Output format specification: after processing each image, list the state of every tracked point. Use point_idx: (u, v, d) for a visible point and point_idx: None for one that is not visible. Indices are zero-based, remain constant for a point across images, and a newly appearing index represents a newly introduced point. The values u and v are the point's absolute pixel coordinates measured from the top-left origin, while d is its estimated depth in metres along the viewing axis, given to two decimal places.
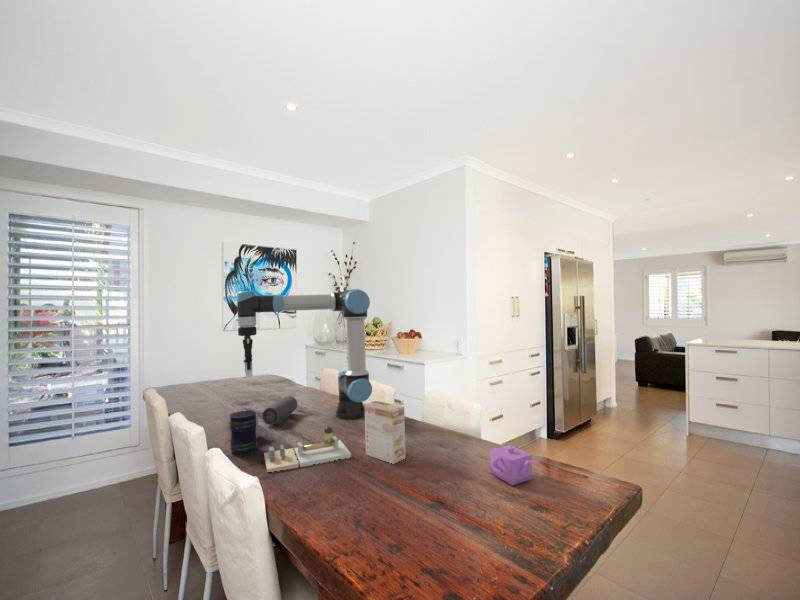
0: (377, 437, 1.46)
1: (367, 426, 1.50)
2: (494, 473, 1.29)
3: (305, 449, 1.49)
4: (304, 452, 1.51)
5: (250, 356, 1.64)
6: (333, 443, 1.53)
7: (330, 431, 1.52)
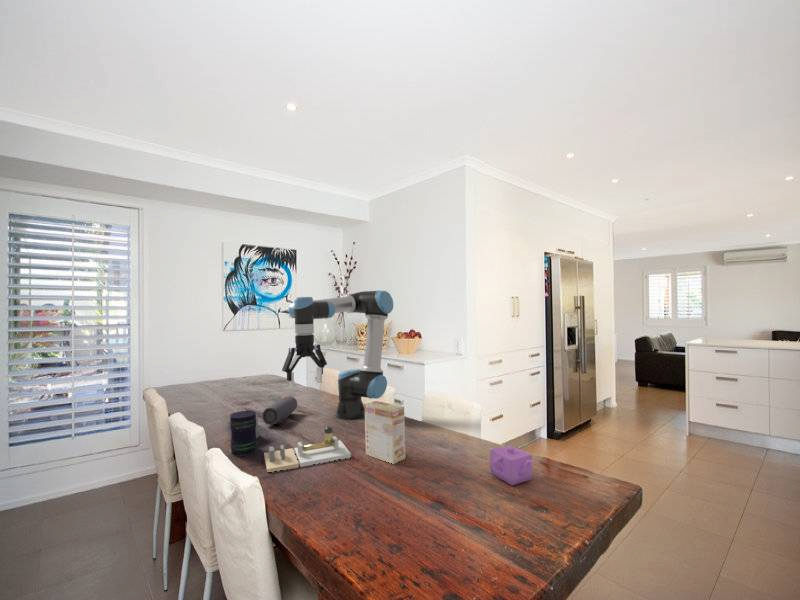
0: (377, 437, 1.46)
1: (367, 426, 1.50)
2: (494, 473, 1.29)
3: (305, 449, 1.49)
4: (304, 452, 1.51)
5: (285, 367, 1.55)
6: (333, 443, 1.53)
7: (330, 431, 1.52)
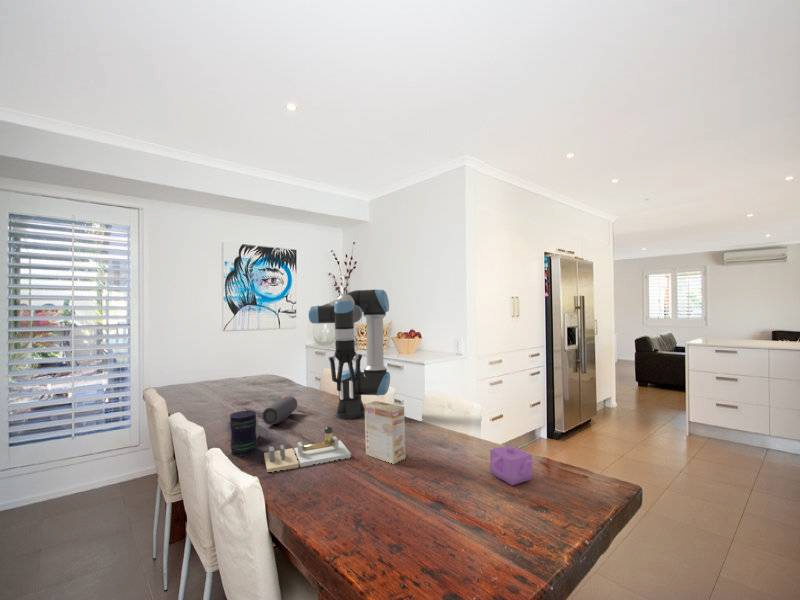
0: (377, 437, 1.46)
1: (367, 426, 1.50)
2: (494, 473, 1.29)
3: (305, 449, 1.49)
4: (304, 452, 1.51)
5: (332, 377, 1.53)
6: (333, 443, 1.53)
7: (330, 431, 1.52)
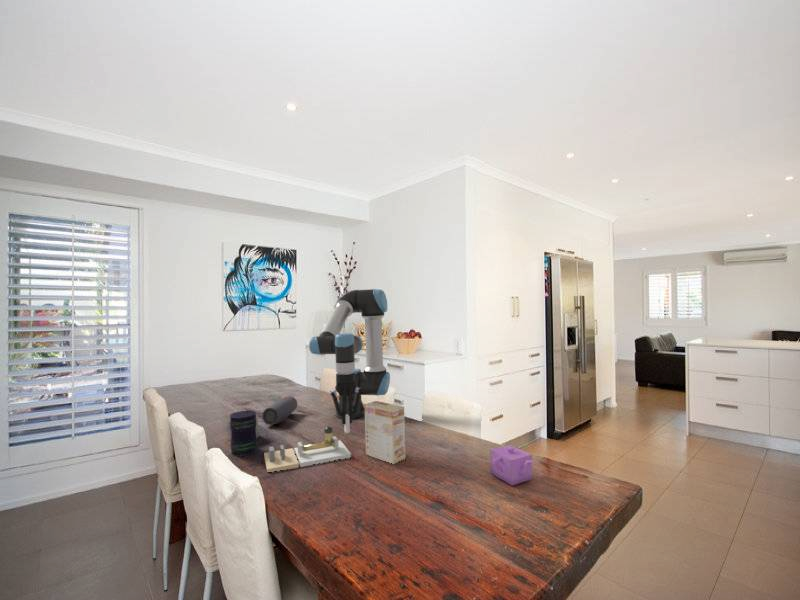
0: (377, 437, 1.46)
1: (367, 426, 1.50)
2: (494, 473, 1.29)
3: (305, 449, 1.49)
4: (304, 452, 1.51)
5: (337, 411, 1.54)
6: (333, 443, 1.53)
7: (330, 431, 1.52)
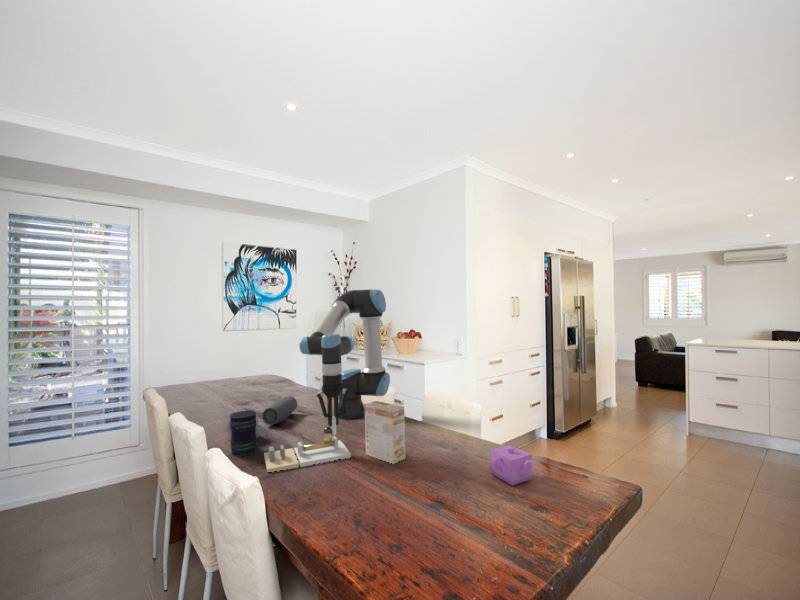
0: (377, 437, 1.46)
1: (367, 426, 1.50)
2: (494, 473, 1.29)
3: (304, 449, 1.49)
4: (304, 452, 1.51)
5: (323, 413, 1.52)
6: (332, 443, 1.53)
7: (329, 431, 1.52)
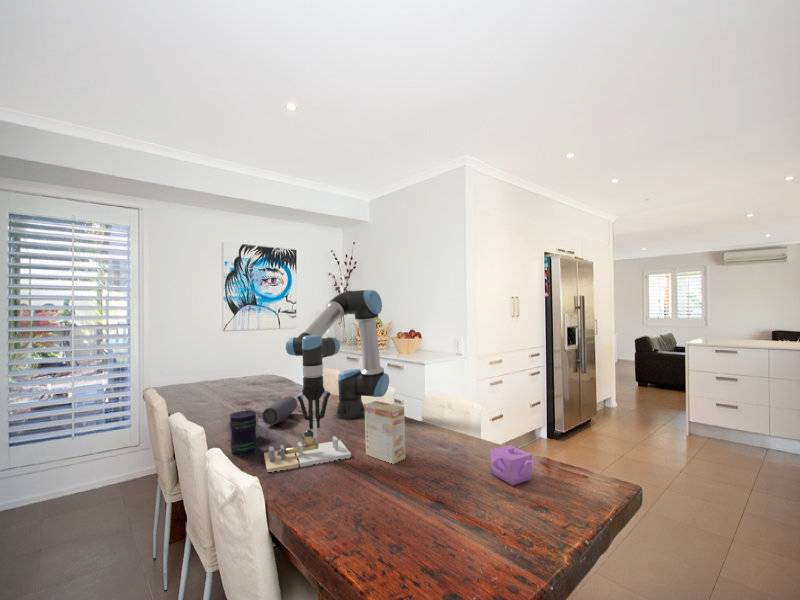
0: (377, 437, 1.46)
1: (367, 426, 1.50)
2: (494, 473, 1.29)
3: None
4: (304, 452, 1.51)
5: (304, 416, 1.49)
6: (313, 446, 1.50)
7: (310, 434, 1.49)
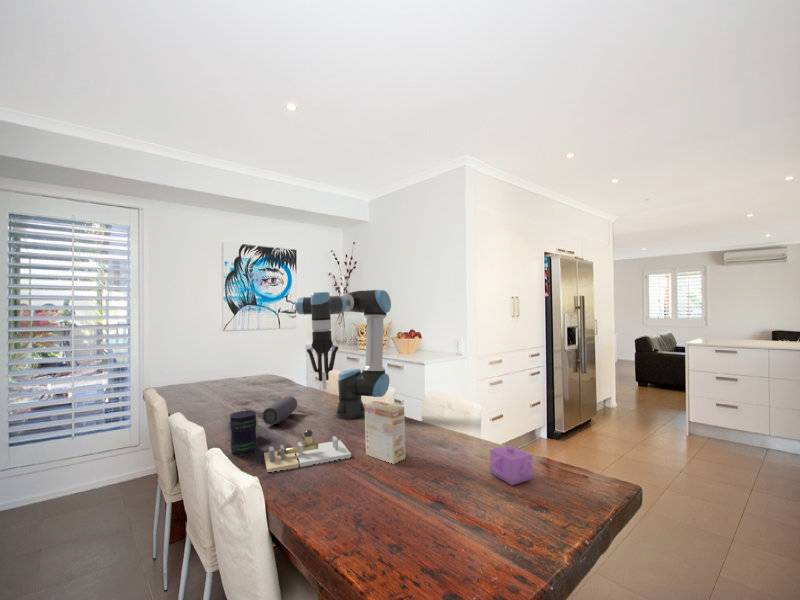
0: (377, 437, 1.46)
1: (367, 426, 1.50)
2: (494, 473, 1.29)
3: None
4: (304, 452, 1.51)
5: (313, 368, 1.56)
6: (313, 446, 1.50)
7: (310, 434, 1.49)
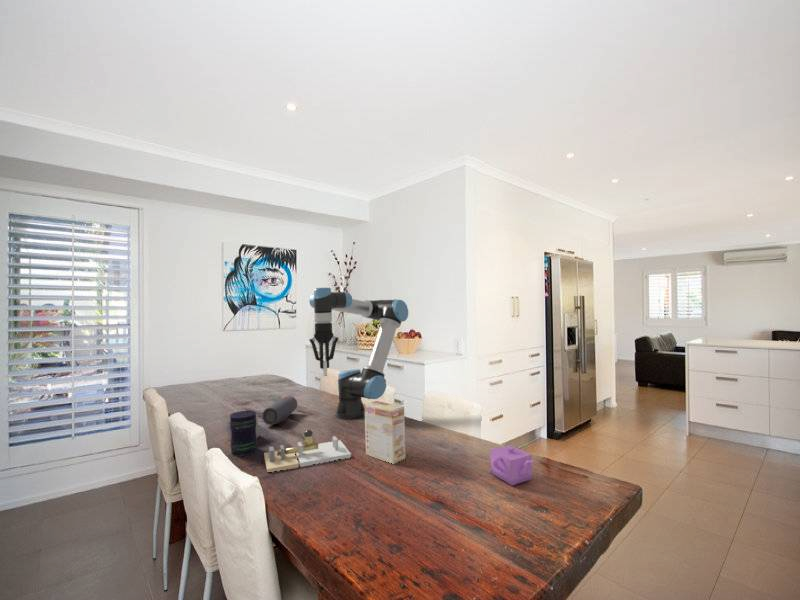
0: (377, 437, 1.46)
1: (367, 426, 1.50)
2: (494, 473, 1.29)
3: None
4: (304, 452, 1.51)
5: (315, 356, 1.72)
6: (313, 446, 1.50)
7: (310, 434, 1.49)
